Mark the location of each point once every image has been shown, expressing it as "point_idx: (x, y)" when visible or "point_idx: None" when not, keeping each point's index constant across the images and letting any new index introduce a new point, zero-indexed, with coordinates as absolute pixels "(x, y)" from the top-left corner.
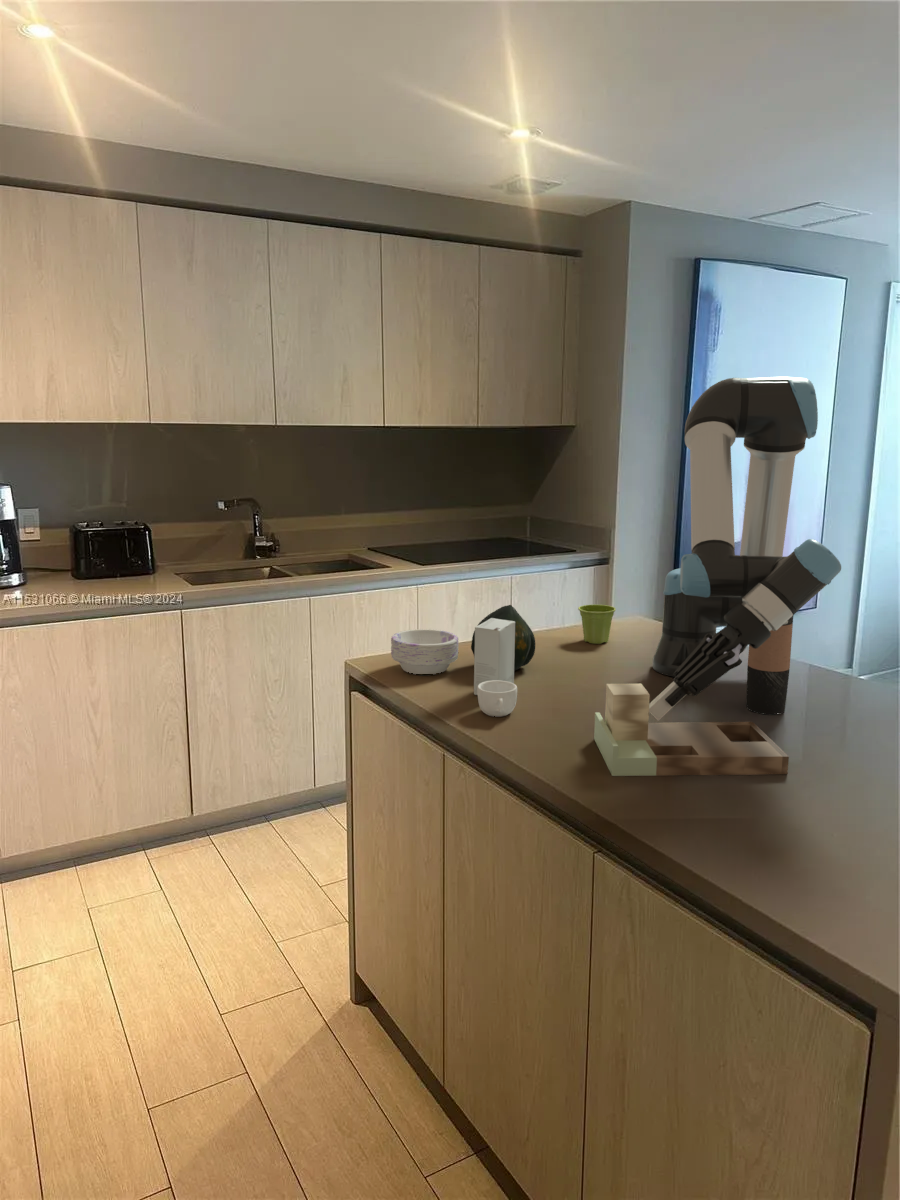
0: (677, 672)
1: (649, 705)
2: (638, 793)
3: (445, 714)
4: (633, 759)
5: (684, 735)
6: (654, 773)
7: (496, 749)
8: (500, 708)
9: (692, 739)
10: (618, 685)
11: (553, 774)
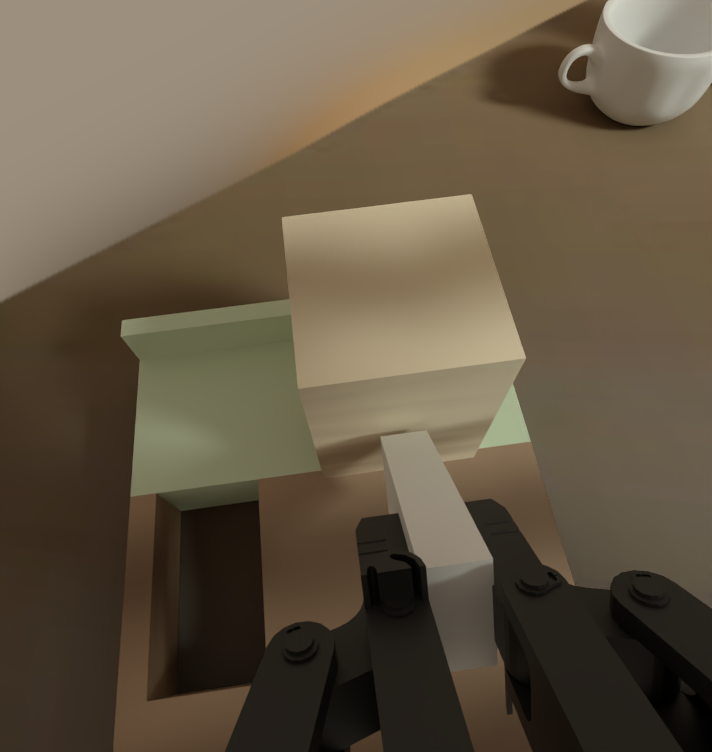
0: (626, 603)
1: (410, 442)
2: (25, 443)
3: (573, 21)
4: (138, 413)
5: None
6: None
7: (350, 122)
8: (558, 72)
9: None
10: (453, 243)
11: (185, 236)
